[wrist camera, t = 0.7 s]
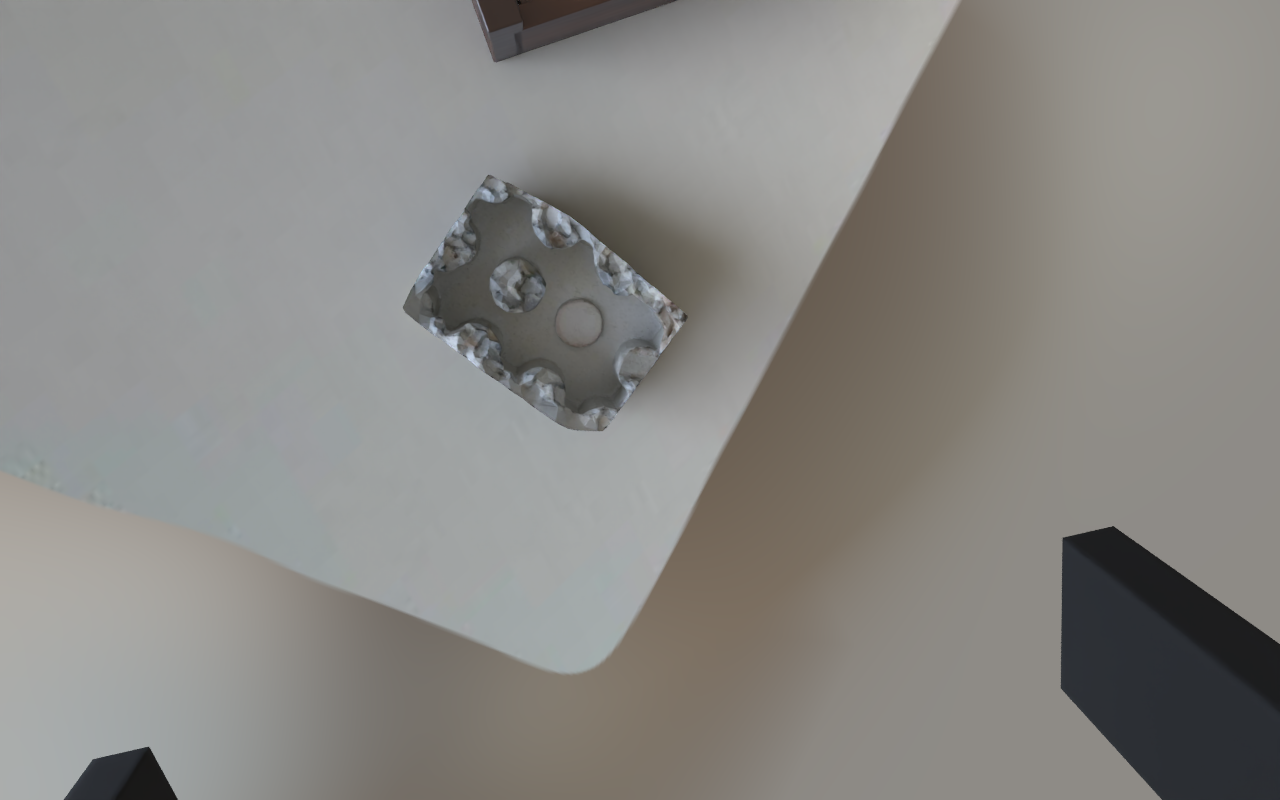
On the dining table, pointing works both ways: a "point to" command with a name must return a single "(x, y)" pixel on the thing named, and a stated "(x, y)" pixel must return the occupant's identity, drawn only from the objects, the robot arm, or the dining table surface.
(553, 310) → the egg carton
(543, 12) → the crate
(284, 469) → the dining table surface
